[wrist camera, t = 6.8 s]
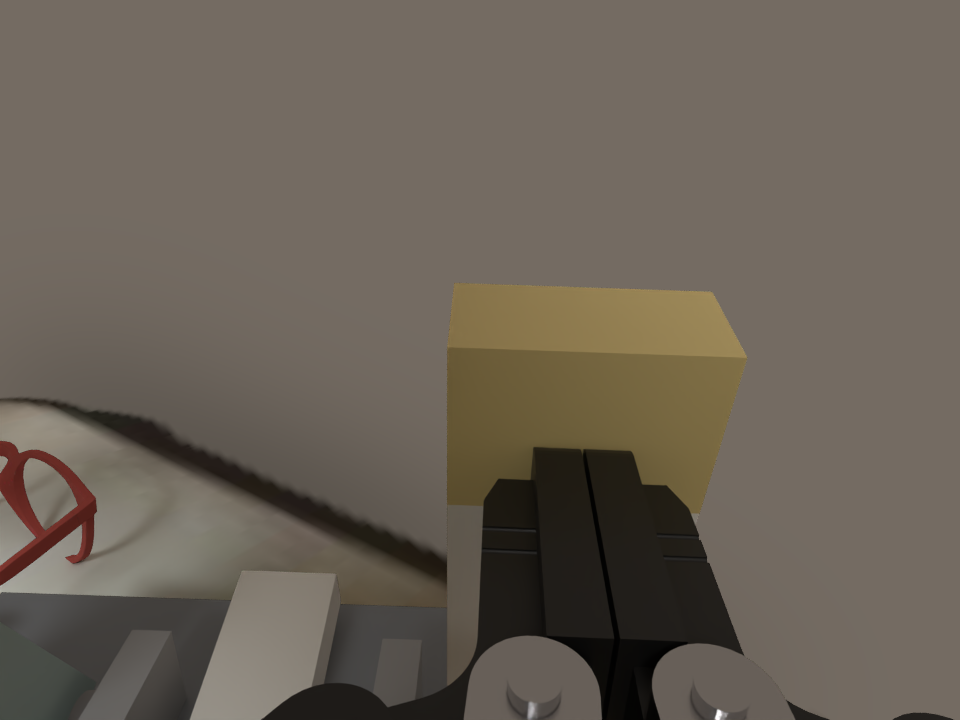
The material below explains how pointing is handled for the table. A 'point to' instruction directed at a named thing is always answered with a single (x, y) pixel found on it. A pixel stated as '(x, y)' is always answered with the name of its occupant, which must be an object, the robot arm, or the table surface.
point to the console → (233, 647)
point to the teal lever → (38, 682)
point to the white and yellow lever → (575, 401)
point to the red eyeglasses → (16, 496)
